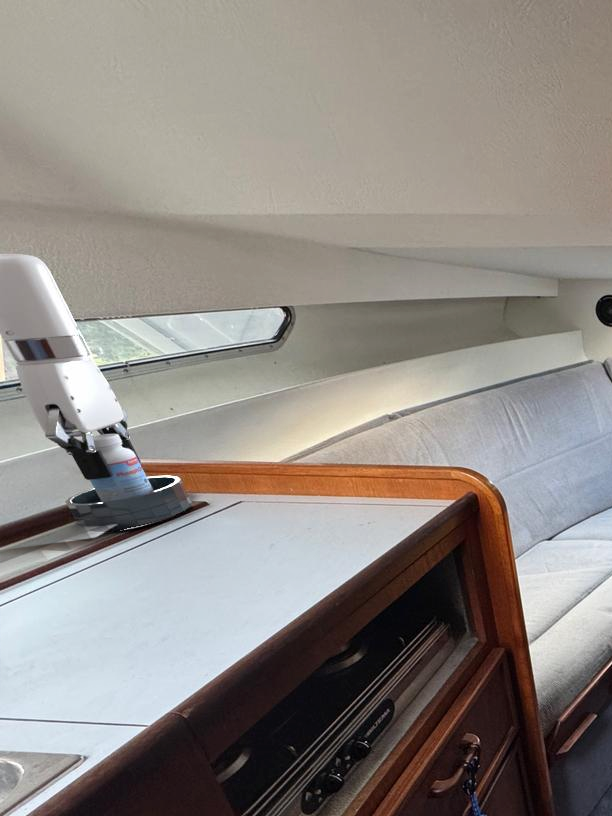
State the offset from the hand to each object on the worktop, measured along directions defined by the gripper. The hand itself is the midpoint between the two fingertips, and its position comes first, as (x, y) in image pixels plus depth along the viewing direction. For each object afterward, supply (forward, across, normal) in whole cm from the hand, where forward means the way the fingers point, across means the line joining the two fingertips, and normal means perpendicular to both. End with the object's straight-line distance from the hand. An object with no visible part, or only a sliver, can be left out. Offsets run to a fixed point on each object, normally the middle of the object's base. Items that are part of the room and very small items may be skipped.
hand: (114, 470), depth 88 cm
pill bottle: (+6, 0, 0) cm, 6 cm away
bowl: (+8, 0, 0) cm, 8 cm away
